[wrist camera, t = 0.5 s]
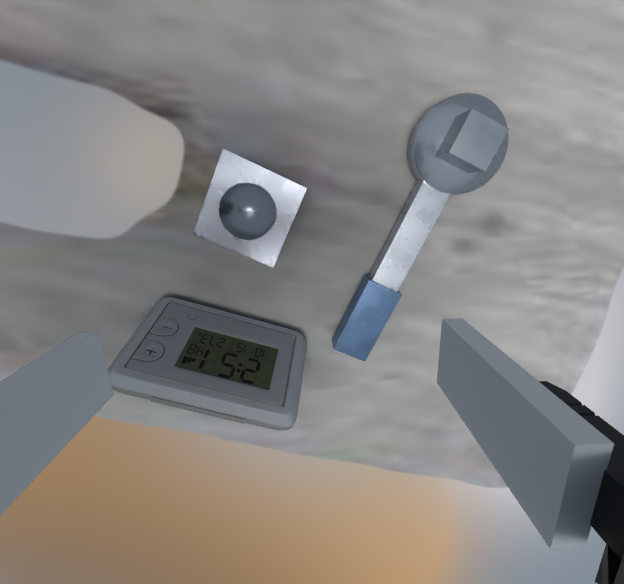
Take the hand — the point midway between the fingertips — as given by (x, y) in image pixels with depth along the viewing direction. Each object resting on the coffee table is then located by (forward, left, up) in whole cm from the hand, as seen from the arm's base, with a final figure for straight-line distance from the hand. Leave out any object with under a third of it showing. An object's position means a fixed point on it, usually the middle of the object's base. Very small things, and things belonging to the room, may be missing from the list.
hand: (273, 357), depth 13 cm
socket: (-5, +3, -22) cm, 23 cm away
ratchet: (+9, +6, -22) cm, 25 cm away
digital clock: (-3, -11, -22) cm, 25 cm away
